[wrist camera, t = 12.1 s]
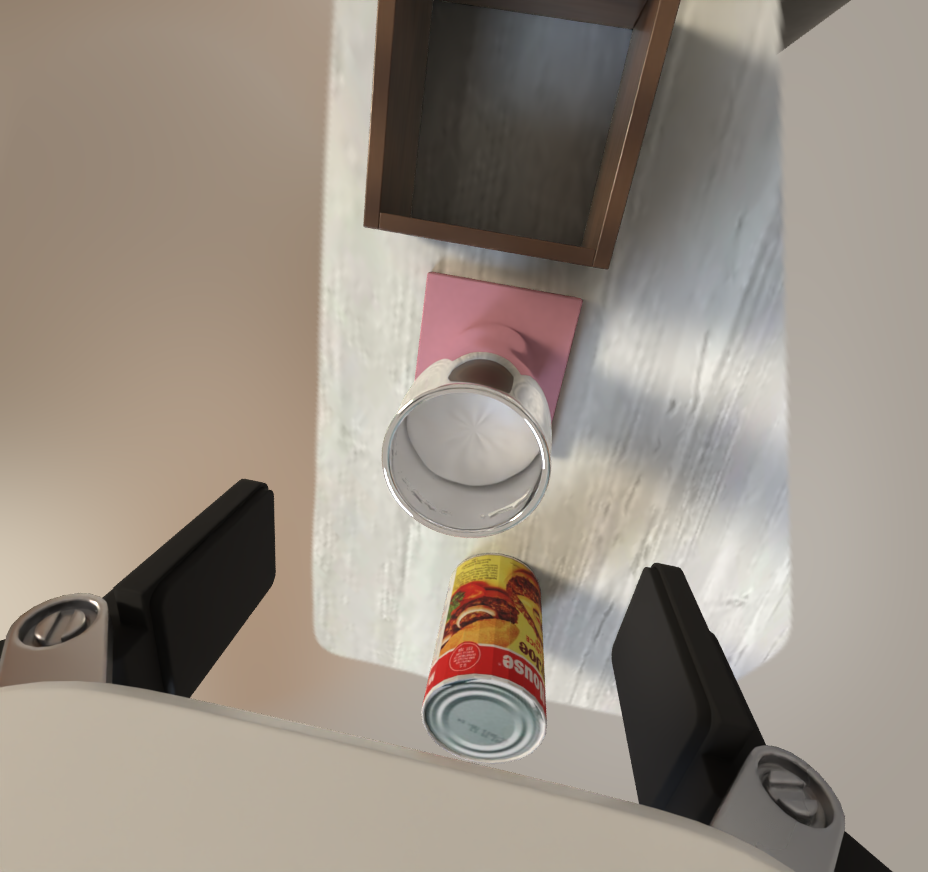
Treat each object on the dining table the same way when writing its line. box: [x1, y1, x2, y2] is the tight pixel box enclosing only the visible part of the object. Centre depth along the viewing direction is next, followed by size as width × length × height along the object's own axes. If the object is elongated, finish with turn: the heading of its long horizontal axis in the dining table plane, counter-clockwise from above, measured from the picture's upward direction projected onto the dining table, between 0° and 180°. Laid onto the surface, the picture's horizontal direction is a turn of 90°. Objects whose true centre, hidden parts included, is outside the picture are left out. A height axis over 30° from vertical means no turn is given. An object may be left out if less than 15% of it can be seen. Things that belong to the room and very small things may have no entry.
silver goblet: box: [382, 324, 552, 538], centre depth 25 cm, size 7×7×15 cm
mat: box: [415, 272, 583, 425], centre depth 32 cm, size 11×10×1 cm
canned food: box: [421, 553, 547, 764], centre depth 35 cm, size 8×8×12 cm
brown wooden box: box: [363, 0, 680, 269], centre depth 24 cm, size 12×12×7 cm
